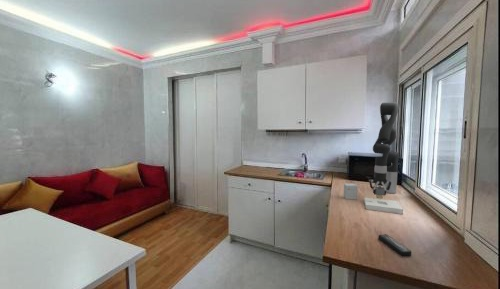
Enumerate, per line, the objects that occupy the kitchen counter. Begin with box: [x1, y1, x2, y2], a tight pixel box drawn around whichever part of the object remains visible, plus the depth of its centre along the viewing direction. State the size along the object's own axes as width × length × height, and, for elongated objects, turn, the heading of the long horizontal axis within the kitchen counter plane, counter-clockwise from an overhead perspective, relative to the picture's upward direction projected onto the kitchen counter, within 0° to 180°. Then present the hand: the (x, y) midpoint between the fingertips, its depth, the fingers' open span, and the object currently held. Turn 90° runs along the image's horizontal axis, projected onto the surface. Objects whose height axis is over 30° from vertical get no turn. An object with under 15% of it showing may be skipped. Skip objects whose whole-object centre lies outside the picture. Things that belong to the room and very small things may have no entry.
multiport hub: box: [378, 233, 412, 257], centre depth 97 cm, size 4×14×2 cm, turn 6°
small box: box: [343, 183, 358, 200], centre depth 163 cm, size 8×6×10 cm
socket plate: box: [363, 197, 404, 215], centre depth 144 cm, size 16×20×4 cm
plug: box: [374, 186, 385, 200], centre depth 156 cm, size 5×5×8 cm
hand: (379, 194), depth 157 cm, fingers closed on plug, 5 cm apart
